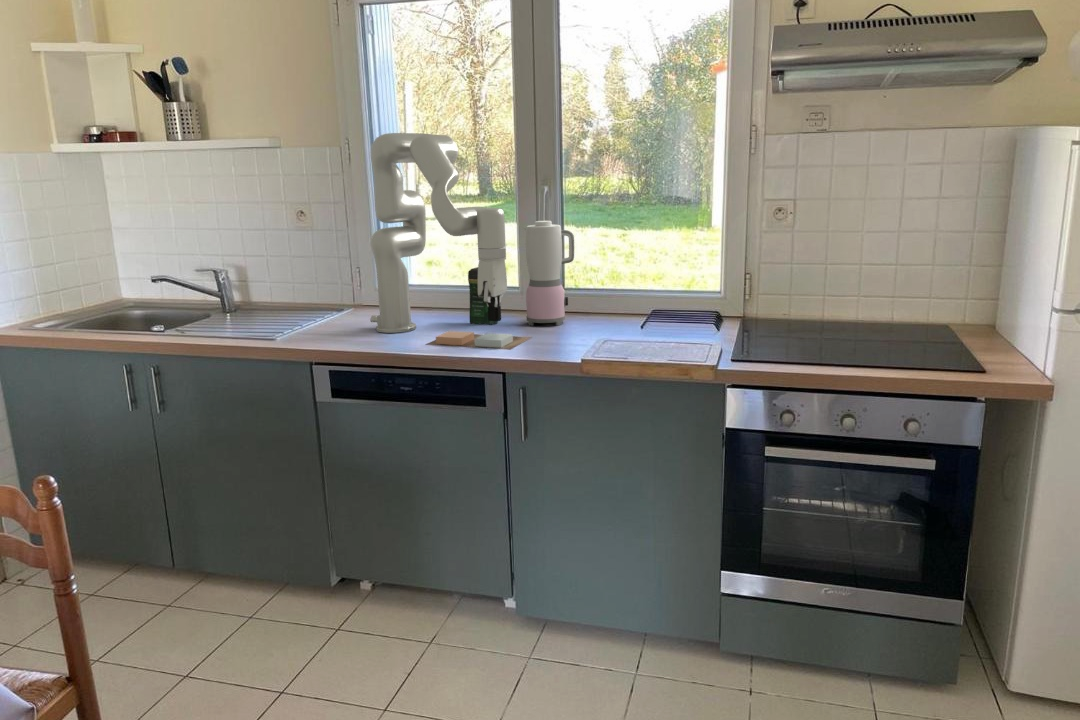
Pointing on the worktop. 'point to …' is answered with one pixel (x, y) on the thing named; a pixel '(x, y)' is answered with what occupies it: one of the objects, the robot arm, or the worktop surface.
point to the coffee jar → (477, 301)
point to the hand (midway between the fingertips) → (494, 320)
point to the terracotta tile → (455, 338)
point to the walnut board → (509, 346)
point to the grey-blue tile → (494, 340)
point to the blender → (546, 272)
